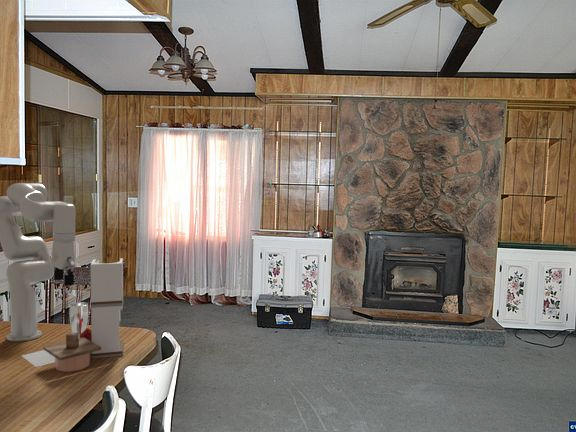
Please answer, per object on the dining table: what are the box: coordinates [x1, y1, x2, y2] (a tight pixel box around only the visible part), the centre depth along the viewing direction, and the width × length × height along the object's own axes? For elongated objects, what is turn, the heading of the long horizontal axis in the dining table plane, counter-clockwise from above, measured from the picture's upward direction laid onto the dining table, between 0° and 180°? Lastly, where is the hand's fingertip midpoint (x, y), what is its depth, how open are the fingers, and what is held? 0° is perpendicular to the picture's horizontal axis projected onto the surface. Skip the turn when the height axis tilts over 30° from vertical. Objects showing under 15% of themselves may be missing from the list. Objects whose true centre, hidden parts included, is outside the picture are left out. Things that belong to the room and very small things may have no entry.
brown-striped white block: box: [90, 257, 125, 359], centre depth 177 cm, size 11×11×35 cm
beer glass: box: [69, 301, 89, 339], centre depth 190 cm, size 7×7×15 cm
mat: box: [21, 349, 55, 368], centre depth 173 cm, size 15×15×1 cm
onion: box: [80, 326, 92, 342], centre depth 183 cm, size 6×6×8 cm
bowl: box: [54, 353, 91, 373], centre depth 164 cm, size 11×11×6 cm
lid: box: [43, 332, 101, 360], centre depth 164 cm, size 14×14×6 cm
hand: (63, 282), depth 175 cm, fingers open, 9 cm apart
